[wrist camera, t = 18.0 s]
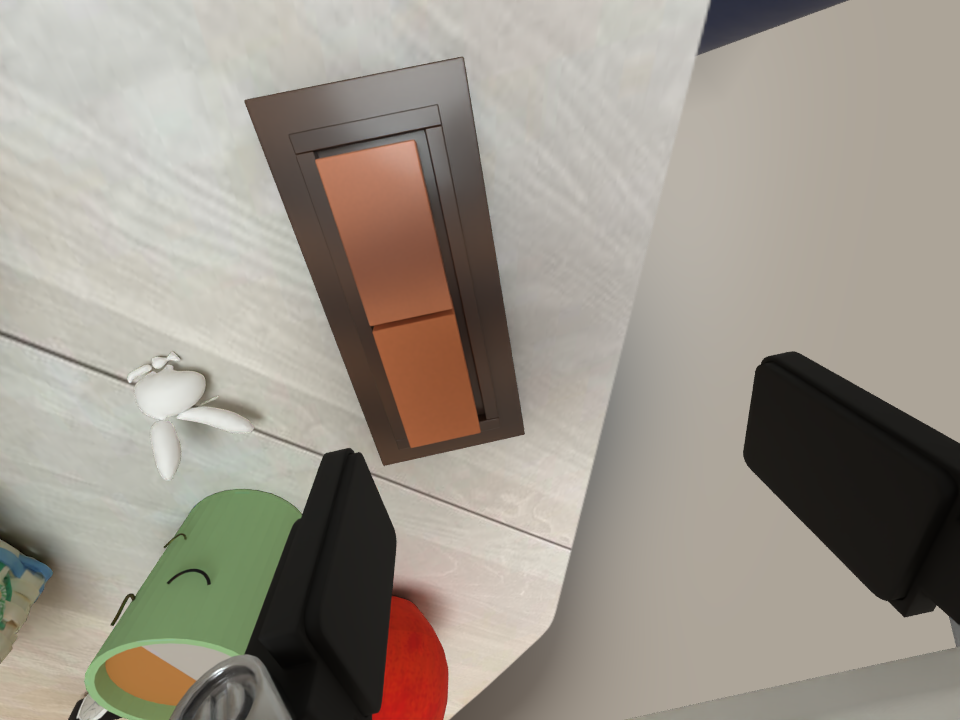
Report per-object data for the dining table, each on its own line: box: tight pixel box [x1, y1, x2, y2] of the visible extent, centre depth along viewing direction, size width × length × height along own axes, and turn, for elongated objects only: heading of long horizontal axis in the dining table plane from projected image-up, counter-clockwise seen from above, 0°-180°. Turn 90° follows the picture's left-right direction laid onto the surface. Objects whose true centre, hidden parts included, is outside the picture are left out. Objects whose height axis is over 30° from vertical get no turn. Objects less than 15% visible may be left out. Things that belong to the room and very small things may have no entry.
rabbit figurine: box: [127, 352, 254, 481], centre depth 29 cm, size 6×4×8 cm
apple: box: [372, 596, 448, 720], centre depth 37 cm, size 12×12×13 cm
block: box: [372, 295, 481, 448], centre depth 28 cm, size 9×5×4 cm, turn 10°
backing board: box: [245, 57, 525, 466], centre depth 27 cm, size 26×12×5 cm, turn 10°
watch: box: [68, 694, 123, 720], centre depth 43 cm, size 8×5×4 cm, turn 105°
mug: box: [84, 489, 302, 720], centre depth 31 cm, size 13×10×12 cm
